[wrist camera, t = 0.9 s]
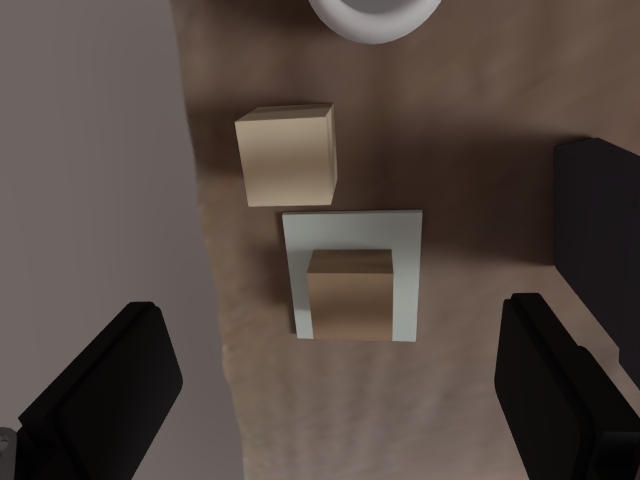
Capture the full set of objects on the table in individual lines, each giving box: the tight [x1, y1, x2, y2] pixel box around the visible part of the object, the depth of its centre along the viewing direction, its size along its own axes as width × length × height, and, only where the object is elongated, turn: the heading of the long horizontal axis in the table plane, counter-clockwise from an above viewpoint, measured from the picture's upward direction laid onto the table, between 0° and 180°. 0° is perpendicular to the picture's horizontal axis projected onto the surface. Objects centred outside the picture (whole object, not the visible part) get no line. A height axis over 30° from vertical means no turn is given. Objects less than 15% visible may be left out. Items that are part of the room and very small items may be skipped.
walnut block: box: [307, 249, 394, 341], centre depth 35 cm, size 7×7×4 cm
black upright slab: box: [554, 138, 640, 390], centre depth 25 cm, size 11×4×15 cm, turn 15°
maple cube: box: [235, 103, 338, 206], centre depth 29 cm, size 6×6×6 cm
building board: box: [282, 210, 422, 341], centre depth 37 cm, size 14×12×1 cm
